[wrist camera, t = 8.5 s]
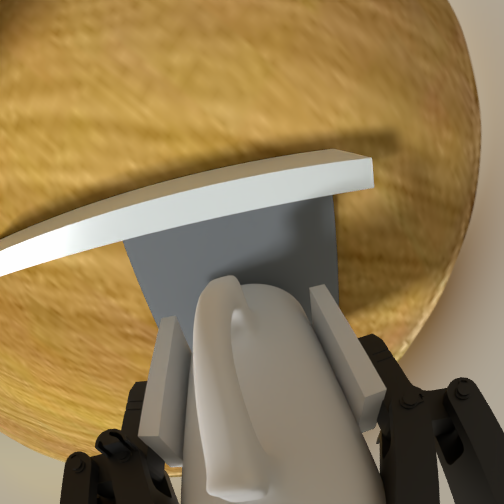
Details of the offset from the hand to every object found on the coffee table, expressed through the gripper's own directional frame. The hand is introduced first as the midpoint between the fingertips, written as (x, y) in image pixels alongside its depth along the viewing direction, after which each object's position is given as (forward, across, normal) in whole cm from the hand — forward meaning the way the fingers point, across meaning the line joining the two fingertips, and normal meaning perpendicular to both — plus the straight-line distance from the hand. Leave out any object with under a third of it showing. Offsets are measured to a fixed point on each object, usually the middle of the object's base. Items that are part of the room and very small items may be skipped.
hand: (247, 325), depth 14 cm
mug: (+2, 0, 0) cm, 2 cm away
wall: (+3, -5, +6) cm, 9 cm away
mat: (+3, 0, 0) cm, 3 cm away
